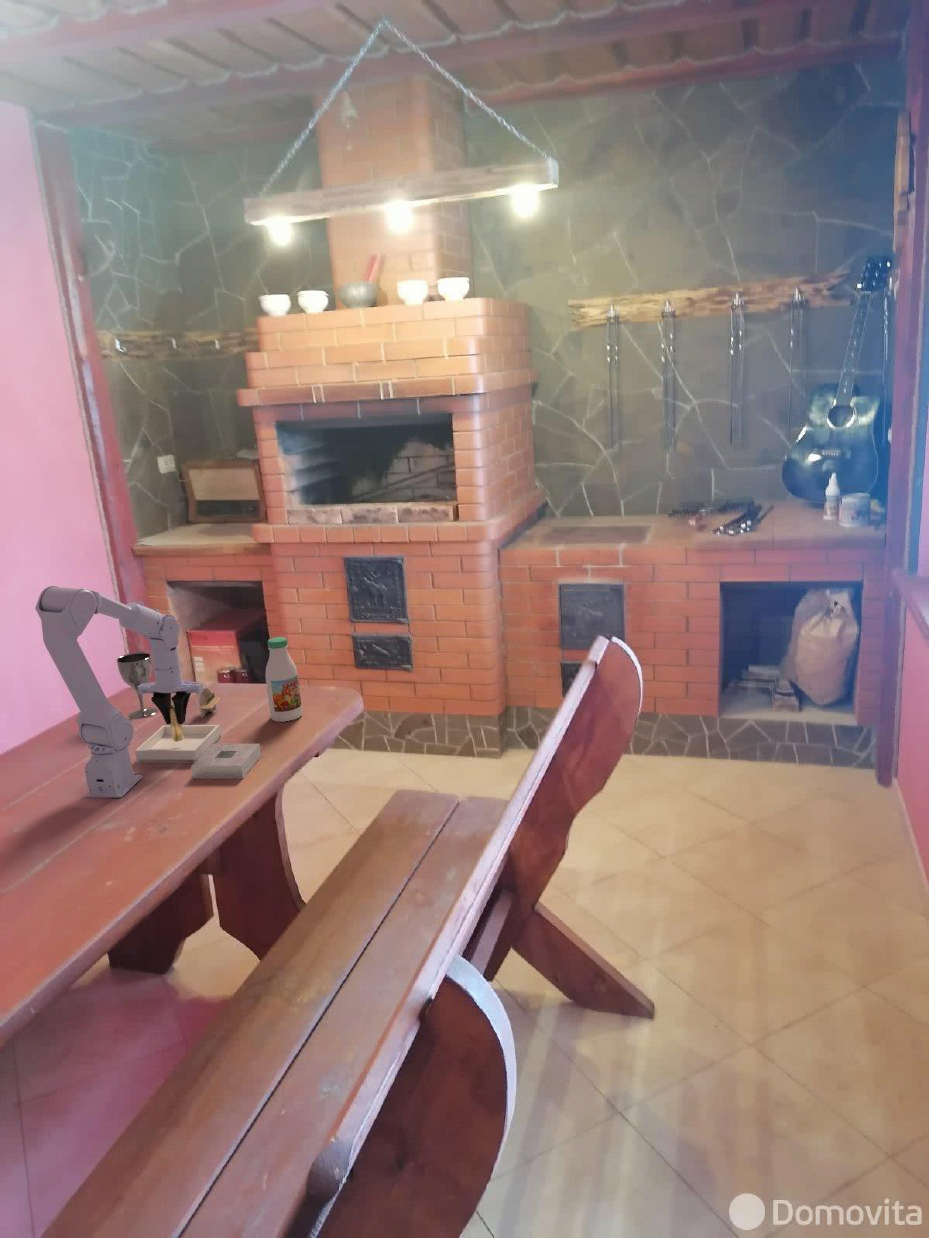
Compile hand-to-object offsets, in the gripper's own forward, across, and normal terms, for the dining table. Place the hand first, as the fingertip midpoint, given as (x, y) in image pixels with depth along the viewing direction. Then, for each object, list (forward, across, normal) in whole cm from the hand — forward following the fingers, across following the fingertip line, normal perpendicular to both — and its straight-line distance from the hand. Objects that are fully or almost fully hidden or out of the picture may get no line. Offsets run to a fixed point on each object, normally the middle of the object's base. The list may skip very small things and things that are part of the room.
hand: (176, 722), depth 203 cm
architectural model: (+7, +2, -22) cm, 23 cm away
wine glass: (+7, +20, -22) cm, 30 cm away
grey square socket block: (+7, -15, +9) cm, 19 cm away
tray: (+7, 0, 0) cm, 7 cm away
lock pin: (+4, 0, 0) cm, 4 cm away
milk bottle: (+7, -19, -19) cm, 28 cm away
